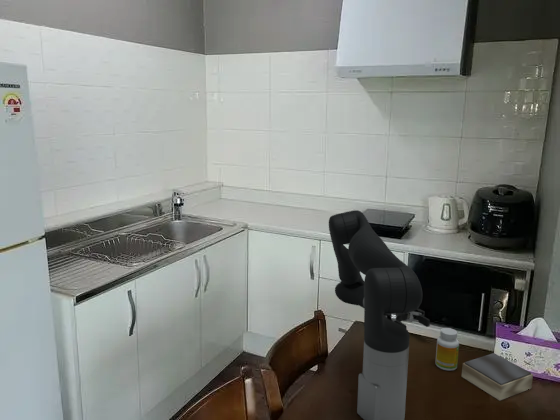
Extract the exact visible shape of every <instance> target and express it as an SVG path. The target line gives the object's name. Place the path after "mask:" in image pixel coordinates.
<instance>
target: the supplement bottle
mask: <svg viewBox="0 0 560 420" xmlns="http://www.w3.org/2000/svg"><path fill="white" fill-rule="evenodd" d="M439 335H440V336H438V337H437V339H436V349H435V351H436V352H435V365H436V367H437V368H439V369H440V370H443V371H448V372H449V371H455V370H456V369H458V361H459V349H460V341H459V340H458V331H457V330H456V329H453V328H451V327H443V328H441V329H440V333H439Z"/></svg>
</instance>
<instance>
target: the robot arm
mask: <svg viewBox="0 0 560 420" xmlns="http://www.w3.org/2000/svg"><path fill="white" fill-rule="evenodd" d="M328 231H329V236H330V239H331V240H330V241H331V244H332V248H333V252H334V255H335V257H336V258H335V259H336V263H337V268H338V270H337V271H338V278H339V280H340V282H339V283H337V284H336V285H335V288H334V293H335V296H336V297H337V298H338V299H339V300H340V301H341V302H343V303H344V304H345V303H346V304H349V305H354V306H359V307H361V308H363V311H364V313H363V316H364V317H363V329H364V331H363V332H364V333H363V355H362V358H363V359H362V360H363V361H362V372H361V373H359V374H358V381H357V383H358V385H357V386H358V387H357V404H356V405H357V406H356V407H357V408H356V413H357V414H358V415H359V417H360V418H361V419H363V420H405V416H406V415H405V414H406V401H407V399H406V398H407V397H406V396H407V383H408V382H407V381H408V371H409V370H408V367H409V366H408V365H409V356H410V355H409V353H410V338H411V336H410V332H409V330H408V329H407V325H406V324H405V323H403V322H410V323H413V322H418V323H420V324H421V325H423V326H424V327H426V328H429V327H430V326H431V320H430V318H427V317H426V316H425V311H424V310H422V309H421V308H420V307H421V304H422V302H423V289H422V285H421V281H420V278H419V277H418V275H417V274H416V273H415V271H414V270H413V269H412V268H411V267H410V266H409V265H407V264H406V263H404V261H402V260H401V259H399V258H398V257H397V256H396V255H395V254H394V252H392V251H391V249H390V248H389V247H388V246H387V244H386V243H385V241H383V239H382V238H381V237H380V236H379V234H377V233H376V232H375V230H374V229H373V228H372V226H371V224H370V222H369V221H368V219H367V218H366V215H365V214H364V212H362V211H360V210H349V211H345V212H340V213H336V214H333V215H331V216H330V217H329V219H328ZM345 245H348V247H347V246H345ZM361 273H362V274H363V275H364V278H363V277H362V274H361ZM408 315H409V316H408Z"/></svg>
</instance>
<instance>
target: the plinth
mask: <svg viewBox="0 0 560 420" xmlns="http://www.w3.org/2000/svg"><path fill="white" fill-rule="evenodd" d="M533 377H534V374H533V373H532V372H530V371H528V370H527V369H525V368H523V367H521V366H519V365H517V364H515V363H514V362H512V361H509V360H508V359H506V358H504V357H502V356H501V355H499V354H497V353H495V352H493V353H490V354H487V355H483V356H480V357H476V358H475V359H470V360H468V361H465V362H462V367H461V378H463V379H465V380H466V381H468V382H469V383H471V384H472V385H474V386H475V387H477V388H479V389H480V390H483V392H486V393H487V394H488V395H489V396H492V397H493V398H495V399H497V400H498V401H499V402H500V401H503V400H505V399H507V398H509V397H510V398H511V397H513V396H516V395H518V394H520V393H524V392H525V391H529V390H531V389H532V386H533V379H534V378H533ZM528 389H529V390H528Z"/></svg>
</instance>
